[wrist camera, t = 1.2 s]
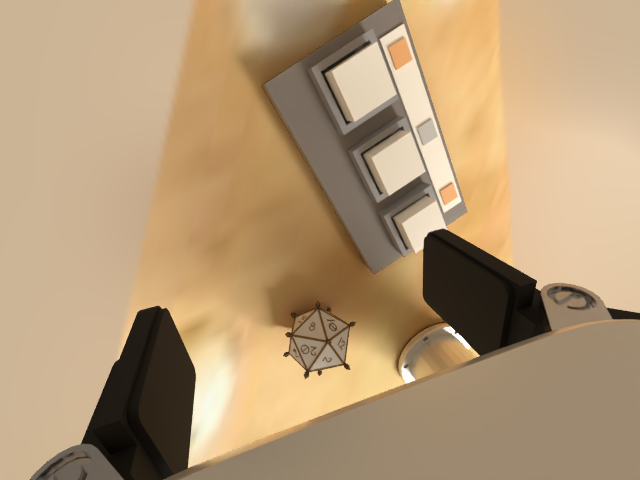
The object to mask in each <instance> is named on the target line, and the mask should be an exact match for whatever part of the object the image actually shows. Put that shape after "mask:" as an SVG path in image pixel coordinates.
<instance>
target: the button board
mask: <svg viewBox="0 0 640 480" xmlns="http://www.w3.org/2000/svg"><path fill="white" fill-rule="evenodd" d="M375 42H377V43H378V46H379V48H380V51H381V54H382V56H383V59H384V62H385V64H386V67H387V70H388V72H389V75H390V78H391V80H392V83H393V86H394V88H395V91H396V95H395V96H393V97H392V98H390V99H389V100H387V101H386V102H384V103H383V104H381V105H380V106H378V107H377V108H375V109H374V110H372V111H371V112H369V113H367V114H366V115H364V116H363V117H361V118H360V119H358V120H357V121H355V122H352V121H347V120H346V118H345V116H344V114H343V112H342V110H341V108H340V106H339V103H338V101H337V99H336V97H335V95H334V93H333V91H332V89H331V87H330V84H329V82H328V80H327V78H326V76H325V74H324V73H326V72H327V71H329V70H331V69H332V68H334V67H335V66H337V65H338V64H340V63H341V62H343V61H344V60H346V59H347V58H349V57H350V56H352V55H354V54H355V53H357V52H358V51H360V50H361V49H363V48H364V47H366V46H368V45H370V44H372V43H375ZM262 87H263V89H264V90H265V92H266V94H267V96H268V97H269V99H270V101H271V102H272V104H273V106H274V108H275V109H276V111H277V113H278V114H279V116H280V118H281V120H282V121H283V123H284V125H285V126H286V128H287V130H288V132H289V133H290V135H291V137H292V138H293V140H294V142H295V144H296V145H297V147H298V149H299V150H300V152H301V154H302V156H303V157H304V159H305V161H306V162H307V164H308V166H309V168H310V169H311V171H312V173H313V174H314V176H315V178H316V180H317V181H318V183H319V185H320V186H321V188H322V190H323V192H324V193H325V195H326V197H327V198H328V200H329V202H330V204H331V205H332V207H333V209H334V210H335V212H336V214H337V216H338V217H339V219H340V221H341V222H342V224H343V226H344V228H345V229H346V231H347V233H348V234H349V236H350V238H351V240H352V241H353V243H354V245H355V246H356V248H357V250H358V252H359V253H360V255H361V257H362V258H363V260H364V262H365V264H366V265H367V267H368V268H369V269H370V270H371V271H372V273H373V274H375V273H377V272H378V271H380V270H381V269H383V268H384V267H386V266H387V265H389V264H390V263H392V262H393V261H395V260H396V259H398V258H399V257H401V256H403V257H405V256H406V255H408V254H409V253H411V252H412V250H410V249H409V248H408V247H407V246H406V245H405V243H404V240H403V238H402V236H401V234H400V232H399V230H398V228H397V226H396V224H395V221H394V219H393V217H394V216H395V215H397V214H398V213H400V212H401V211H403V210H404V209H406V208H407V207H409V206H410V205H412V204H413V203H415V202H416V201H418V200H419V199H421V198H422V197H424V196H428V197H430V198H432V199H434V200H436V201H437V204H438V206H439V209H440V212H441V214H442V217H443V220H444V222H445V225H446V228H447V225H449V224H450V223H452V222H453V221H455V220H456V219H458V218H459V217H461V216H462V215H464V214H465V213H467V209H466V206H465V203H464V200H463V197H462V194H461V191H460V188H459V184H458V181H457V178H456V175H455V172H454V169H453V166H452V163H451V159H450V156H449V153H448V150H447V147H446V144H445V141H444V138H443V134H442V131H441V128H440V125H439V122H438V119H437V116H436V113H435V109H434V106H433V103H432V100H431V97H430V94H429V91H428V88H427V85H426V81H425V78H424V75H423V72H422V69H421V66H420V63H419V60H418V56H417V53H416V50H415V47H414V44H413V41H412V38H411V35H410V31H409V28H408V25H407V22H406V19H405V16H404V13H403V10H402V6H401V3H400V0H393V1H391V2H389V3H388V4H386V5H385V6H383V7H382V8H380V9H379V10H377V11H376V12H374V13H372V14H371V15H369V16H368V17H366V18H365V19H363V20H362V21H360V22H359V23H357V24H356V25H354V26H353V27H351V28H349V29H348V30H346V31H345V32H343V33H342V34H340V35H339V36H337V37H336V38H334V39H333V40H331V41H329V42H328V43H326V44H325V45H323V46H322V47H320V48H319V49H317V50H316V51H314V52H313V53H311V54H309V55H308V56H306V57H305V58H303V59H302V60H300V61H299V62H297V63H296V64H294V65H293V66H291V67H289V68H288V69H286V70H285V71H283V72H282V73H280V74H279V75H277V76H276V77H274V78H273V79H271V80H270V81H268V82H266V83H265V84H263V85H262ZM399 130H403V131H410V132H411V134H412V137H413V139H414V142H415V145H416V147H417V150H418V153H419V155H420V158H421V161H422V163H423V166H424V169H425V171H426V172H424V173H423V174H421V175H420V176H418V177H417V178H415V179H414V180H412V181H411V182H409V183H408V184H406V185H405V186H403V187H402V188H400V189H399V190H397V191H396V192H394V193H393V194H391V195H390V196H388V195H387V194H385V193H383V192H381V191H380V190H379V188H378V186H377V184H376V181H375V179H374V177H373V175H372V173H371V171H370V169H369V167H368V165H367V162H366V160H365V158H364V156H363V154H364V153H366V152H367V151H369V150H370V149H372V148H373V147H375V146H376V145H378V144H379V143H381V142H383V141H384V140H386V139H387V138H389V137H390V136H392V135H393V134H395V133H396V132H398V131H399Z"/></svg>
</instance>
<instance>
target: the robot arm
mask: <svg viewBox="0 0 640 480" xmlns="http://www.w3.org/2000/svg"><path fill="white" fill-rule="evenodd" d="M536 283H537V281H536V280H535V279H533V278H531V277H529V276H528V275H526V274H524V273H522V272H520V271H519V270H517V269H515V268H513V267H512V266H510V265H508V264H506V263H505V262H503V261H501V260H499V259H498V258H496V257H494V256H492V255H490V254H489V253H487V252H485V251H483V250H482V249H480V248H478V247H476V246H475V245H473V244H471V243H469V242H467V241H466V240H464V239H462V238H460V237H459V236H457V235H455V234H453V233H452V232H450V231H448V230H446V229H444V228H443V229H438V230H435V231H431V232H429V233H428V234H427V237H425V238H424V249H423V298H424V300H425V302H426V303H427V304H428V305H429V306H430V307H431V308H432V309H433V310H434V311H435V312H436V313H437V314H438V315H439V316H440V317H441V318H442V319H443V320H444V321H445V322H446V323H441V324H436V325H433V326H430V327H428V328H426V329H424V330H423V331H421V332H420V333H418V334H417V335H416V336H415V337H413V338H412V339H411V340H410V342H409V343H408V344H407V345H406V347H405V348H404V350H403V352H402V354H401V356H400V359H399V364H398V369H399V373H400V375H401V377H402V378H403V380H404V381H405V383H407V384H404V385H401V386H399V387H396V388H393V389H391V390H388V391H385V392H383V393H380V394H378V395H375V396H372V397H370V398H367V399H364V400H362V401H359V402H356V403H354V404H351V405H349V406H346V407H343V408H341V409H338V410H335V411H333V412H330V413H328V414H325V415H322V416H320V417H317V418H315V419H312V420H309V421H307V422H304V423H302V424H299V425H296V426H294V427H291V428H289V429H286V430H283V431H281V432H278V433H275V434H273V435H270V436H268V437H265V438H262V439H260V440H257V441H255V442H252V443H250V444H247V445H245V446H242V447H240V448H237V449H235V450H232V451H230V452H227V453H225V454H222V455H220V456H217V457H215V458H212V459H210V460H207V461H205V462H202V463H200V464H197V465H195V466H192V467H190V468H188V458H189V447H190V436H191V425H192V414H193V403H194V392H195V381H196V373H195V368H194V365H193V363H192V361H191V359H190V357H189V354H188V352H187V350H186V348H185V346H184V343H183V341H182V339H181V337H180V335H179V332H178V330H177V328H176V326H175V324H174V321H173V319H172V317H171V315H170V313H169V311H168V309H167V308H165V309H161V307H160V306H155V307H151V308H148V309H144V310H140V311H138V313H137V315H136V318H135V321H134V323H133V326H132V328H131V331H130V333H129V336H128V338H127V341H126V343H125V346H124V348H123V351H122V354H121V356H120V359H119V360H118V361H116V362H115V363H114V365H113V367H112V369H111V372H110V374H109V377H108V379H107V381H106V384H105V387H104V389H103V391H102V394H101V397H100V399H99V401H98V404H97V406H96V409H95V411H94V413H93V416H92V418H91V421H90V423H89V426H88V428H87V430H86V433H85V436H84V438H83V440H82V443H81V444H80V445H76V446H73V447H70V448H68V449H66V450H64V451H62V452H60V453H59V454H57V455H56V456H55V457H53V458H52V459H50V460H49V461H47V462H46V463H45V464H44V465H43V466H42V467H41V468H40V469H39V470H38V471H37V472H36V473H35V474H34V475H33V476H32V477H31V479H30V480H640V313H635V312H629V311H623V310H617V309H610V308H606V306H605V305H604V303H603V301H602V300H601V299H600V297H598V296H597V295H596V294H594V293H593V292H591V291H589V290H587V289H585V288H582V287H579V286H576V285H571V284H565V283H554V284H548V285H546V286H544V287H543V288H542V289H541V291H539V290H538V289H536V288H535V287H536ZM470 346H471V347H472V348H473V349H474V350H475V351H476V352H477V353H478V354H479V355H480V356H479V357H476V356H475V355H474V354H473V353H472V352H471V351H470V350H469V348H470Z"/></svg>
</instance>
